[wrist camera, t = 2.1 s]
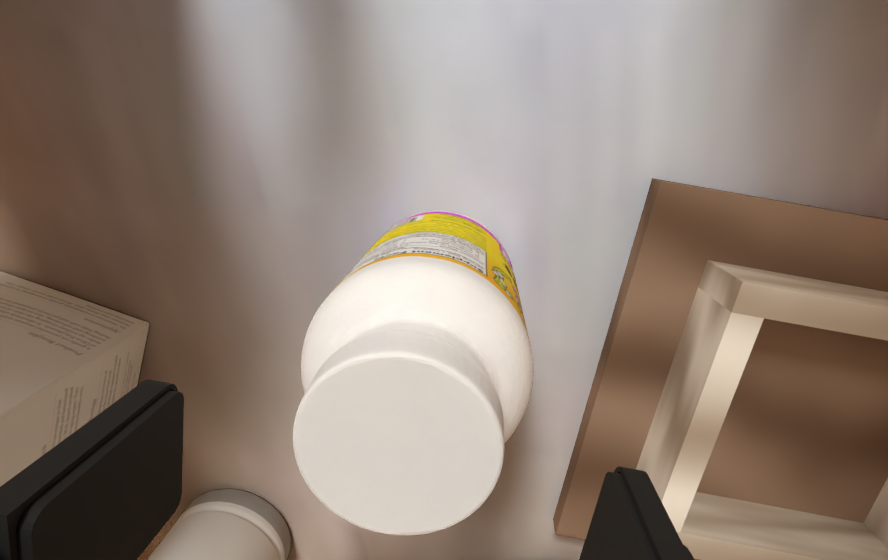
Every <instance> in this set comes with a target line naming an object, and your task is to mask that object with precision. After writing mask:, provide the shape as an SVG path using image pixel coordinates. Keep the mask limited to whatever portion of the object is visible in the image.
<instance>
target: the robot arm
mask: <svg viewBox="0 0 888 560" xmlns="http://www.w3.org/2000/svg"><path fill="white" fill-rule="evenodd" d="M183 408H184V398H183V394H182V393H181V392H178V391H177V387H176V386H175V385H174V384H170V383H164V382H159V381H153V380H145V381H143V382H142V383H140V384H139V385H138V386H136V387H135V388H134V389H132V390H131V391H130V392H128V393H127V394H125V395H124V396H123V397H121V398H120V399H119V400H117V401H116V402H115V403H113V404H112V405H111V406H109V407H108V408H106V409H105V410H104V411H102V412H101V413H100V414H98V415H97V416H96V417H94V418H93V419H92V420H90V421H89V422H87V423H86V424H85V425H83V426H82V427H81V428H79V429H78V430H77V431H75V432H74V433H73V434H71V435H70V436H68V437H67V438H66V439H64V440H63V441H62V442H60V443H59V444H58V445H56V446H55V447H54V448H52V449H51V450H49V451H48V452H47V453H45V454H44V455H43V456H41V457H40V458H39V459H37V460H36V461H35V462H33V463H32V464H30V465H29V466H28V467H26V468H25V469H24V470H22V471H21V472H20V473H18V474H17V475H16V476H14V477H13V478H11V479H10V480H9V481H7V482H6V483H5V484H3V485H2V486H1V487H0V560H137V558H138V557H139V556H140V555H141V553H142V552H143V551H144V550H145V548H146V547H147V546H148V545H149V543H150V542H151V541H152V540H153V538H154V537H155V536H156V535H157V533H158V532H159V531H160V530H161V528H162V527H163V526H164V525H165V523H166V522H167V521H168V520H169V518H170V517H171V516H172V515H173V514H174V512H175V511H176V509H177V507H178V505H179V502H180V499H181V494H182V453H183ZM579 560H694V558H693V556H692V554H691V552H690V551H689V549H688V548H687V547H686V546H685V545H683V544H682V542H681V540H680V538H679V536H678V534H677V532H676V530H675V528H674V526H673V524H672V522H671V520H670V518H669V516H668V514H667V512H666V510H665V508H664V506H663V504H662V502H661V500H660V498H659V496H658V494H657V492H656V490H655V488H654V486H653V484H652V482H651V480H650V478H649V476H648V474H647V473H646V472H645V471H642V470H636V469H631V468H625V467H620V466H619V467H617V468H616V469H615V471H614V472H607V473H606V475H605V478H604V481H603V484H602V488H601V491H600V494H599V497H598V501H597V504H596V507H595V510H594V514H593V517H592V520H591V523H590V527H589V530H588V533H587V536H586V540H585V543H584V546H583V550H582V553H581V556H580V559H579Z"/></svg>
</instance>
